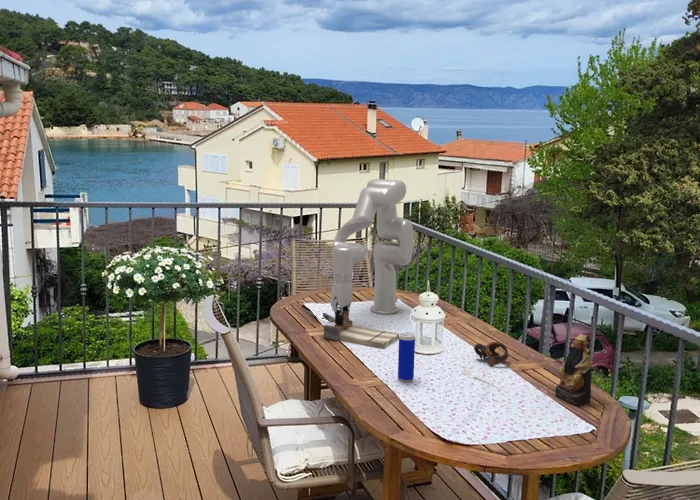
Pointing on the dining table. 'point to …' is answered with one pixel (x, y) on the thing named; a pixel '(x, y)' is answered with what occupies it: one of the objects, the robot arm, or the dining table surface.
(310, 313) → the driftwood
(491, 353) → the brown looped ornament
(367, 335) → the board
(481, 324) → the dining table surface
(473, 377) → the fork
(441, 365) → the dining table surface
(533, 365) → the dining table surface
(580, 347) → the statue
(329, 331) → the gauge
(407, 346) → the beverage can
